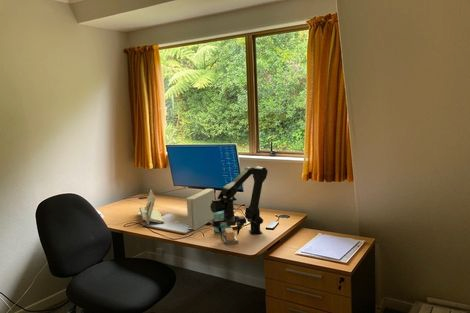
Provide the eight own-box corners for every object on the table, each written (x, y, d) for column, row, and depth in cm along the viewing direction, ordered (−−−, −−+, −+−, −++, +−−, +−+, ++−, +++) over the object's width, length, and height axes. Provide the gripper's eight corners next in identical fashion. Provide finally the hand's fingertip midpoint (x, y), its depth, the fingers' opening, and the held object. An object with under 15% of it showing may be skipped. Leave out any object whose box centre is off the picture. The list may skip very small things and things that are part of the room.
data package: (220, 233, 219) (219, 214, 218) (214, 232, 222) (213, 213, 220) (231, 227, 229) (230, 209, 228) (225, 226, 232) (224, 208, 230)
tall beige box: (225, 238, 212) (224, 228, 211) (232, 237, 212) (231, 227, 212) (227, 243, 204) (227, 233, 203) (234, 242, 205) (234, 232, 204)
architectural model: (132, 223, 236) (140, 191, 235) (130, 211, 263) (138, 182, 262) (162, 228, 242) (171, 197, 242) (157, 216, 270) (165, 188, 269)
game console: (187, 229, 229) (185, 198, 226) (207, 216, 253) (206, 188, 251) (195, 230, 226) (193, 199, 224) (215, 217, 251) (214, 189, 248)
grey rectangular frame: (221, 237, 213) (221, 234, 213) (234, 236, 214) (234, 233, 214) (224, 244, 202) (224, 242, 202) (238, 243, 203) (238, 240, 203)
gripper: (214, 214, 196) (215, 242, 198) (248, 211, 200) (249, 239, 202) (211, 209, 207) (212, 235, 209) (243, 206, 210) (244, 232, 213)
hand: (229, 235), depth 208 cm, fingers open, 9 cm apart
